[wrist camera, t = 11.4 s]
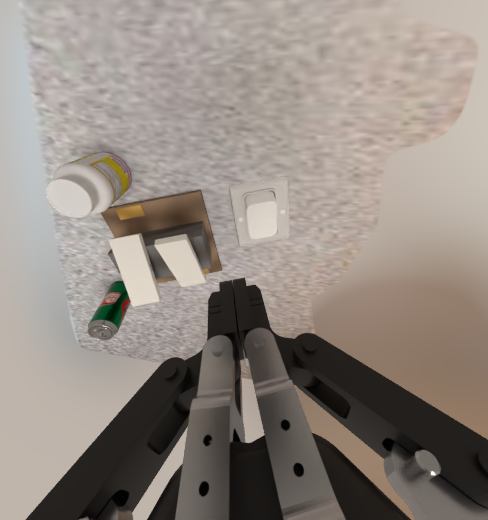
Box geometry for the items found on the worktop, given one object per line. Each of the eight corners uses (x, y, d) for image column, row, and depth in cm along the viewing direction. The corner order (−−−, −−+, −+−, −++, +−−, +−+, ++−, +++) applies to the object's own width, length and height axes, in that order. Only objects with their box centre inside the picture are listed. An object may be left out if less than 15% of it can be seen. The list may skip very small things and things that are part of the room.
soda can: (125, 277, 48) (102, 320, 38) (139, 292, 50) (122, 336, 41) (105, 285, 48) (78, 329, 38) (121, 299, 51) (99, 344, 41)
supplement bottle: (90, 188, 37) (41, 219, 26) (85, 146, 33) (26, 162, 23) (132, 197, 38) (102, 229, 28) (132, 158, 35) (98, 177, 24)
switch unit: (102, 208, 39) (82, 225, 33) (200, 189, 39) (198, 203, 33) (143, 283, 49) (134, 305, 43) (221, 268, 49) (222, 288, 43)
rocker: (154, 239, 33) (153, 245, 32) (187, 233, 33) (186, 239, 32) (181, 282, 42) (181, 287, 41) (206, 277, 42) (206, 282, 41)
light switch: (291, 178, 37) (293, 243, 44) (285, 174, 40) (287, 235, 47) (229, 189, 37) (240, 253, 43) (228, 184, 40) (238, 244, 47)
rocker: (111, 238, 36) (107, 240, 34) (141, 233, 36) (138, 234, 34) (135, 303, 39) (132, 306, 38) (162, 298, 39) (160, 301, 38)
